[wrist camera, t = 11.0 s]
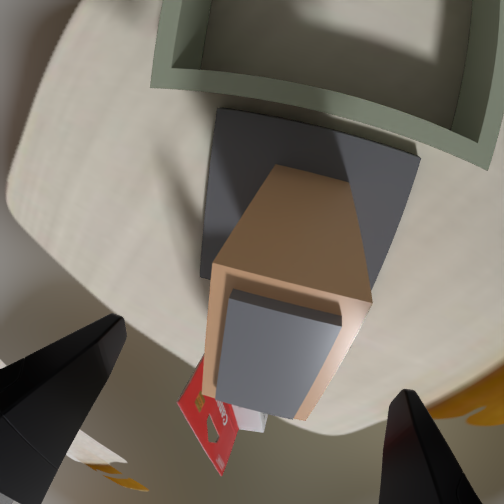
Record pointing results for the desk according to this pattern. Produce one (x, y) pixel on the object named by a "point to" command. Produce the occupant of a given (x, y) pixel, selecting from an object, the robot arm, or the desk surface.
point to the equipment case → (453, 142)
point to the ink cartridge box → (216, 419)
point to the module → (286, 296)
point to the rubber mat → (307, 159)
